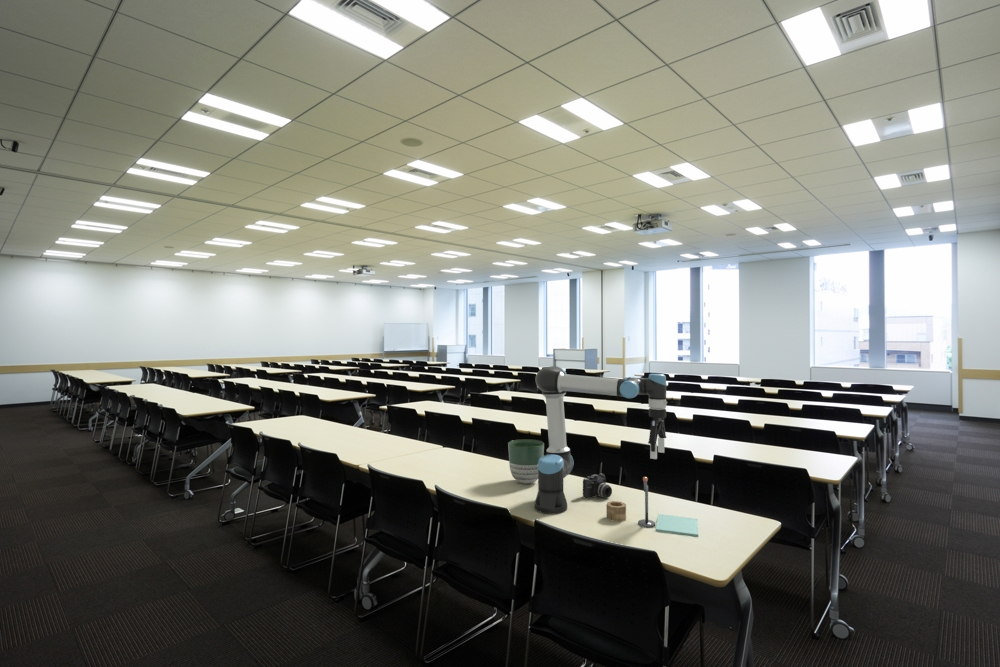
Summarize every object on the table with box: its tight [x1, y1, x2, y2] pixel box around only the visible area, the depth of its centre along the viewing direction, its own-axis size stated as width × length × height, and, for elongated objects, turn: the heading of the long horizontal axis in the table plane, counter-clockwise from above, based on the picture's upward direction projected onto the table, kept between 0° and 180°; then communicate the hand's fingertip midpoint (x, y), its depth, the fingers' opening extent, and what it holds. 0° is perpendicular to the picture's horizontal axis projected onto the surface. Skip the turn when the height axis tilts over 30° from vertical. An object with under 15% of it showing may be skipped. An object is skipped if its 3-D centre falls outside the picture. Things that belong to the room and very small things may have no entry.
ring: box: [605, 500, 627, 523], centre depth 214 cm, size 8×8×6 cm
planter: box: [507, 439, 545, 485], centre depth 267 cm, size 20×20×21 cm
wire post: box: [637, 476, 656, 529], centre depth 205 cm, size 7×10×22 cm, turn 159°
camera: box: [582, 473, 613, 499], centre depth 243 cm, size 14×11×10 cm
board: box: [655, 513, 699, 537], centre depth 205 cm, size 16×18×1 cm
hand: (657, 455), depth 221 cm, fingers open, 13 cm apart
